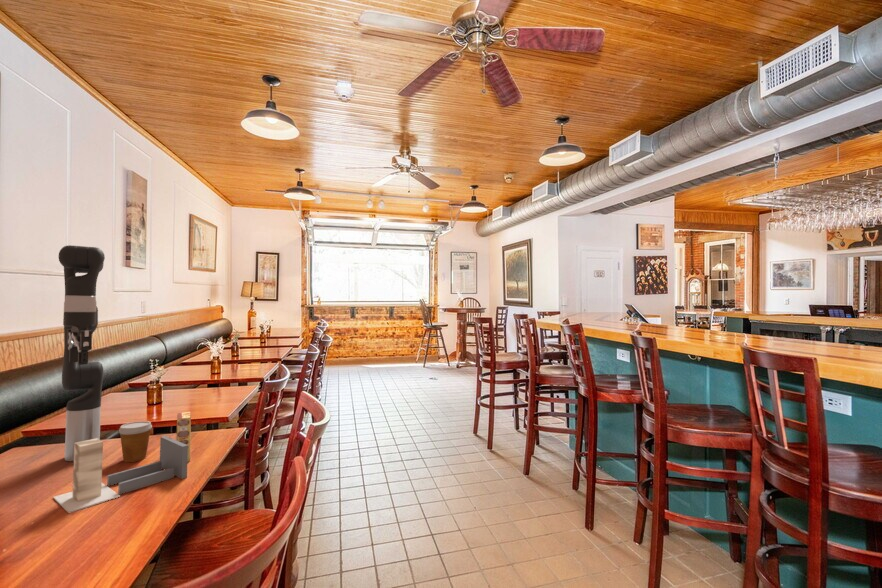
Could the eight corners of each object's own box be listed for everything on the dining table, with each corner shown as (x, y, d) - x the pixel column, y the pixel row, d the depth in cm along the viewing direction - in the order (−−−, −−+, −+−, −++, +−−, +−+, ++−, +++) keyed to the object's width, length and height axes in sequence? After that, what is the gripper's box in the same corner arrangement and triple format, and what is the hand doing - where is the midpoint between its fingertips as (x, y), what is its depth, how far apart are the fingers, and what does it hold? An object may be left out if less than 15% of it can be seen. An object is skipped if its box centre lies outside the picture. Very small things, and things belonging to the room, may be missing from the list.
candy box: (190, 461, 141) (191, 417, 141) (175, 463, 139) (177, 418, 139) (189, 453, 148) (190, 411, 149) (175, 455, 146) (177, 412, 146)
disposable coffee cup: (156, 457, 144) (157, 423, 144) (124, 466, 136) (125, 430, 136) (144, 452, 149) (145, 419, 149) (112, 460, 141) (113, 425, 141)
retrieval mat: (53, 498, 113) (53, 496, 113) (102, 484, 122) (102, 482, 122) (68, 513, 105) (68, 511, 105) (120, 497, 114) (120, 495, 114)
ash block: (72, 497, 113) (74, 442, 114) (95, 490, 117) (97, 438, 118) (78, 502, 110) (80, 446, 111) (101, 495, 114) (103, 441, 115)
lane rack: (103, 482, 123) (104, 449, 124) (164, 465, 137) (165, 435, 137) (123, 497, 114) (124, 461, 115) (186, 477, 128) (187, 445, 128)
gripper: (103, 310, 124) (101, 364, 124) (88, 310, 132) (86, 360, 132) (71, 311, 118) (69, 366, 118) (57, 310, 126) (55, 362, 126)
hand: (78, 363), depth 125 cm, fingers open, 8 cm apart
